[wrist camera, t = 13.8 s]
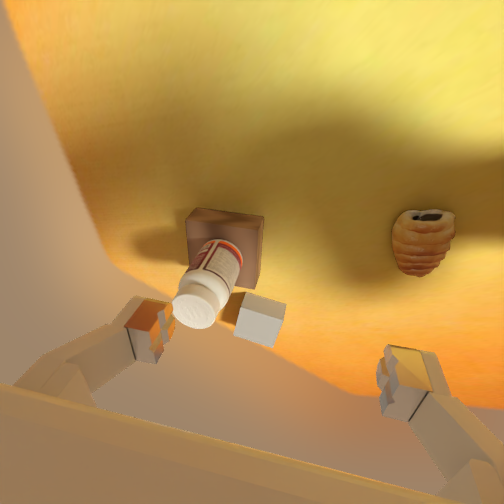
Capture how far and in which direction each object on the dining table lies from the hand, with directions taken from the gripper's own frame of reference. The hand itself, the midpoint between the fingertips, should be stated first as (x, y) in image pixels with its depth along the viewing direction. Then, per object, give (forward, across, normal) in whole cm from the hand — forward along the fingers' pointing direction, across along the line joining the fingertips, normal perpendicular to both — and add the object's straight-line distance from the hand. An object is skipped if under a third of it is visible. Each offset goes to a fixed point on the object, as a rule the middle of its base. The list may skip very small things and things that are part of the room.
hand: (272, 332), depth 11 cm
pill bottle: (+25, +10, +15) cm, 31 cm away
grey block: (+29, +4, +28) cm, 41 cm away
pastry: (+30, -16, +10) cm, 35 cm away
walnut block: (+29, +10, +15) cm, 34 cm away
